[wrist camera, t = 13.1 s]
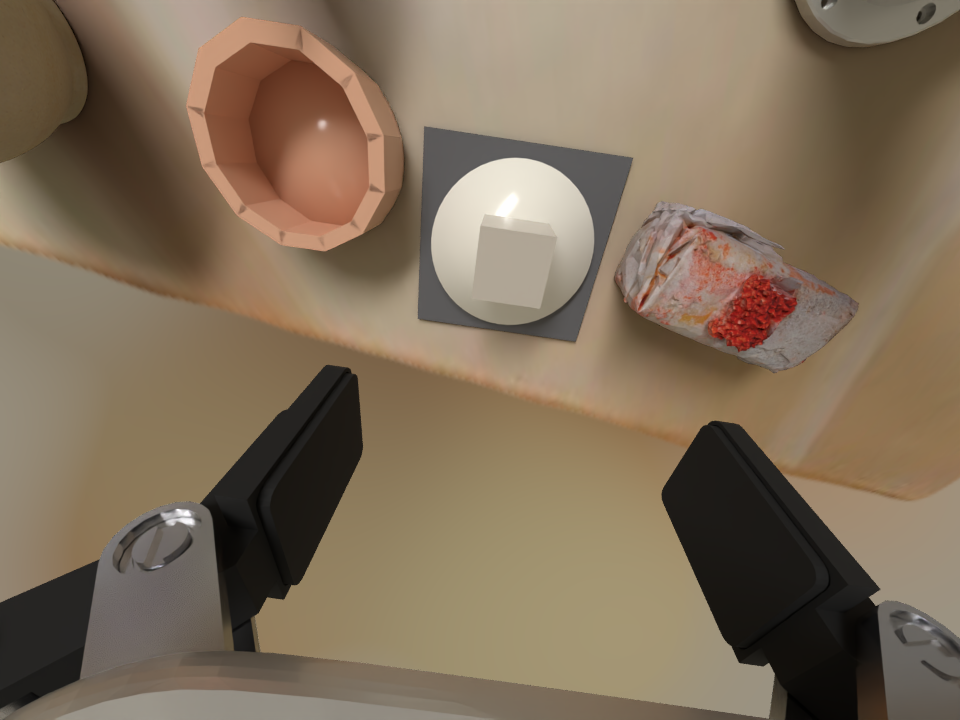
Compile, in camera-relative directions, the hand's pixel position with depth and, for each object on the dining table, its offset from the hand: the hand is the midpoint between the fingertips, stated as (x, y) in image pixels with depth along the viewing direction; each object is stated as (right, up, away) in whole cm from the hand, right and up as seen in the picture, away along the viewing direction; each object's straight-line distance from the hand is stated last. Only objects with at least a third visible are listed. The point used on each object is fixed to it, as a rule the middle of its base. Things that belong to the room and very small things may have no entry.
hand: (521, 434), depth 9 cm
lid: (+1, +11, +19) cm, 22 cm away
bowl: (-13, +18, +16) cm, 27 cm away
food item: (+17, +10, +19) cm, 27 cm away
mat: (+1, +11, +19) cm, 22 cm away
